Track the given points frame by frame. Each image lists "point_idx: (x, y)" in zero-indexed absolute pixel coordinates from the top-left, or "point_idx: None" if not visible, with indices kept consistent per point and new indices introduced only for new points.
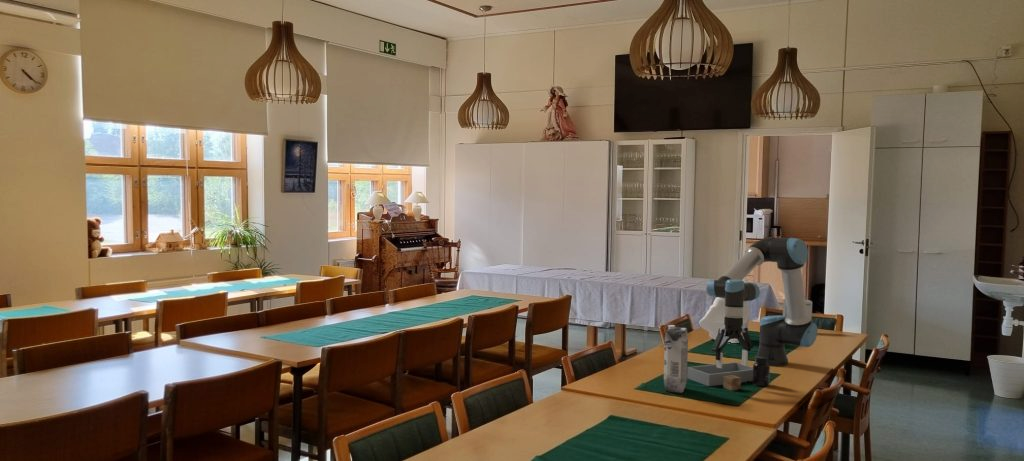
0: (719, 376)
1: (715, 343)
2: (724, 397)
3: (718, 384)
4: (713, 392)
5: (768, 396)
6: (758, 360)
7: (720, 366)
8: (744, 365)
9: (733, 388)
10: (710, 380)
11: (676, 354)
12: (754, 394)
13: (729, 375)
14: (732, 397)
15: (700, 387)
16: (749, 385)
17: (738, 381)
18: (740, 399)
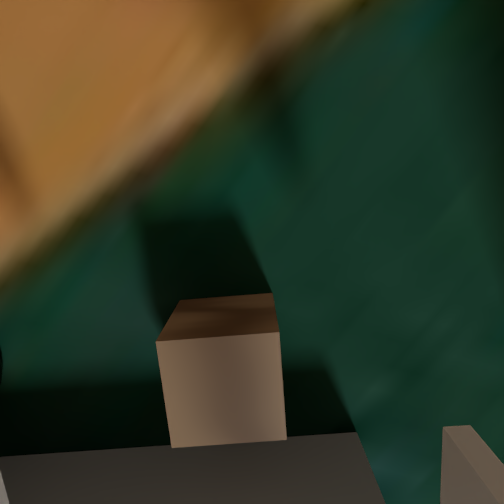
0: (264, 493)
1: None
2: (465, 132)
3: (269, 441)
4: (442, 285)
5: (81, 42)
6: None
7: (487, 451)
8: (1, 484)
9: (250, 299)
10: (355, 465)
11: None
12: (162, 137)
13: (211, 444)
14: (402, 111)
15: (436, 423)
16: (44, 371)
17: (191, 325)
18: (381, 33)
